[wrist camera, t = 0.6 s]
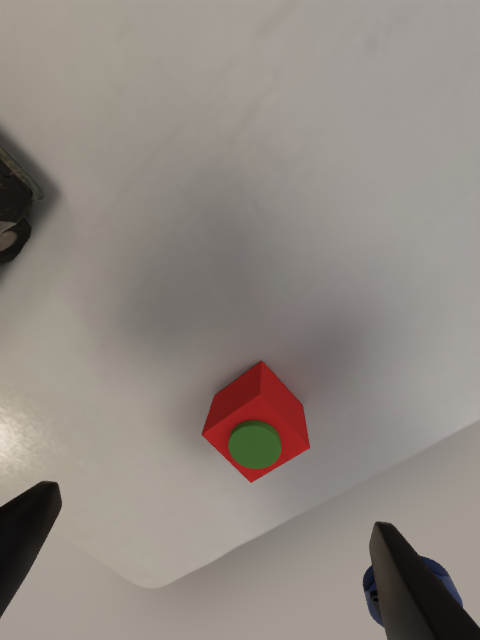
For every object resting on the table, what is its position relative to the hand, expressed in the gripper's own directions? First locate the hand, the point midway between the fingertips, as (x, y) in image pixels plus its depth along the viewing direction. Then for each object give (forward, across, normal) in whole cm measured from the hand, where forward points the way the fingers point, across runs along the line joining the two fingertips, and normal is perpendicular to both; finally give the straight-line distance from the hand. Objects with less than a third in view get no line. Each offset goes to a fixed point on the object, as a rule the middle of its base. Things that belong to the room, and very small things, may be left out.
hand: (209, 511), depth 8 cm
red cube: (+13, -1, +5) cm, 14 cm away
